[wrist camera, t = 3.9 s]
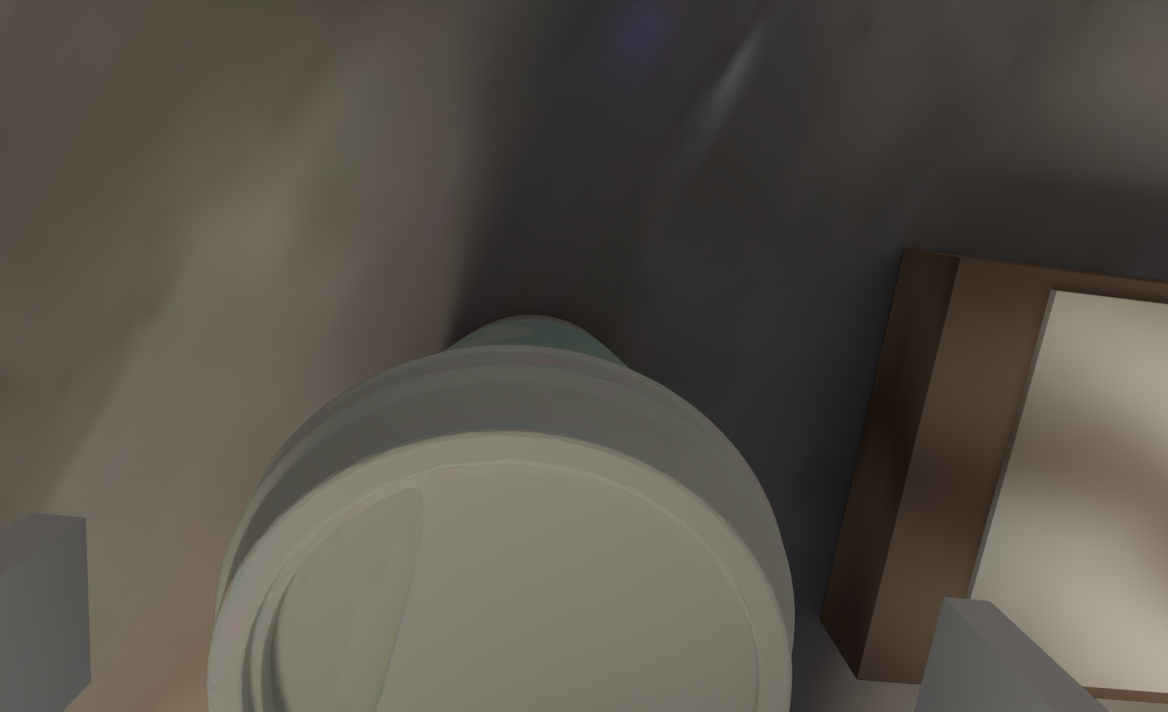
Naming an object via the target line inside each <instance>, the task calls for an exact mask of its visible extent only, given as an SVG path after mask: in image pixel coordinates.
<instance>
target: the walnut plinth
mask: <svg viewBox="0 0 1168 712" xmlns="http://www.w3.org/2000/svg"><path fill="white" fill-rule="evenodd" d="M944 597H951V598H962V599H973V600H984V601H991V602H992V603H993V604H994V605H995V606H996V607H997V608H998V609H999V610H1000V611H1001V612H1002V613H1003V614H1005V615H1006V616H1007V617H1008V618H1009V619H1010V620H1011V621H1012V622H1013V623H1014V624H1015V625H1016V626H1017V627H1019V628H1020V629H1021V630H1022V631H1023V632H1024V633H1025V634H1026V635H1027V636H1028V637H1029V638H1030V639H1031V640H1033V641H1034V642H1035V643H1036V644H1037V645H1038V646H1039V647H1040V648H1041V649H1042V650H1043V651H1044V652H1045V653H1047V654H1048V655H1049V656H1050V657H1051V658H1052V659H1053V660H1054V661H1055V662H1056V663H1057V664H1058V665H1059V666H1061V667H1062V668H1063V669H1064V670H1065V671H1066V672H1067V673H1068V674H1069V675H1070V676H1071V677H1072V678H1073V679H1075V680H1076V681H1077V682H1078V683H1079V684H1080V685H1081V686H1082V687H1083V688H1084V689H1085V690H1086V691H1087V692H1089V693H1090V694H1091V695H1092V696H1093V697H1094V698H1100V699H1113V700H1126V701H1139V702H1152V703H1165V704H1168V281H1163V280H1155V279H1147V278H1139V277H1131V276H1123V275H1115V274H1107V273H1099V272H1091V271H1083V270H1075V269H1067V268H1059V267H1051V266H1044V265H1036V264H1028V263H1020V262H1012V261H1004V260H996V259H988V258H980V257H972V256H964V255H956V254H948V253H940V252H932V251H924V250H916V249H908V248H904V253H903V257H902V262H901V266H900V270H899V275H898V279H897V284H896V288H895V292H894V297H893V301H892V306H891V310H890V314H889V319H888V323H887V328H886V332H885V337H884V341H883V345H882V350H881V354H880V359H879V363H878V367H877V372H876V376H875V381H874V385H873V389H872V394H871V398H870V403H869V407H868V411H867V416H866V420H865V425H864V429H863V433H862V438H861V442H860V447H859V451H858V456H857V460H856V464H855V469H854V473H853V478H852V482H851V486H850V491H849V495H848V500H847V504H846V508H845V513H844V517H843V522H842V526H841V530H840V535H839V539H838V544H837V548H836V552H835V557H834V561H833V566H832V570H831V575H830V579H829V583H828V588H827V592H826V597H825V601H824V605H823V610H822V614H821V619H820V621H821V623H822V624H823V626H824V627H825V629H826V631H827V632H828V634H829V635H830V637H831V639H832V640H833V642H834V643H835V645H836V647H837V648H838V650H839V652H840V653H841V655H842V656H843V658H844V660H845V661H846V663H847V664H848V666H849V668H850V669H851V671H852V672H853V674H854V676H855V677H856V679H857V680H869V681H882V682H895V683H908V684H922V680H923V676H924V672H925V668H926V665H927V661H928V657H929V653H930V649H931V645H932V642H933V638H934V634H935V630H936V626H937V622H938V618H939V615H940V611H941V607H942V603H943V599H944Z"/></svg>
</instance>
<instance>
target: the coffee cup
mask: <svg viewBox="0 0 1168 712" xmlns="http://www.w3.org/2000/svg"><path fill="white" fill-rule="evenodd" d="M794 629H795V605H794V593H793V586H792V578H791V573H790V568H789V564H788V560H787V556H786V552H785V549H784V546H783V542H782V538H781V534H780V531H779V527H778V524H777V521H776V518H775V515H774V513H773V510H772V508H771V505H770V503H769V501H768V498H767V496H766V494H765V492H764V490H763V488H762V486H761V485H760V483H759V481H758V479H757V477H756V476H755V474H754V473H753V471H752V469H751V468H750V466H749V465H748V463H747V462H746V460H745V459H744V458H743V456H742V455H741V454H740V452H739V451H738V450H737V449H736V447H735V446H734V445H733V444H732V442H731V441H730V440H729V439H728V438H727V437H726V436H725V435H724V434H723V433H722V431H721V430H720V429H719V428H718V427H717V426H716V425H714V424H713V423H712V422H711V421H710V420H709V419H708V418H707V417H706V416H705V415H704V414H702V413H701V412H700V411H699V410H697V409H696V408H695V407H694V406H692V405H691V404H690V403H688V402H687V401H686V400H684V399H683V398H682V397H680V396H679V395H677V394H676V393H674V392H672V391H671V390H669V389H668V388H666V387H664V386H663V385H661V384H659V383H657V382H656V381H654V380H652V379H650V378H648V377H646V376H644V375H642V374H640V373H638V372H635V371H633V370H631V369H629V368H628V367H627V366H626V365H625V364H624V363H623V362H622V361H621V360H620V359H619V358H618V357H616V356H615V355H614V354H613V353H612V352H611V351H610V350H609V349H608V348H607V347H606V346H604V345H603V344H602V343H601V342H600V341H599V340H598V339H596V338H595V337H594V336H593V335H591V334H590V333H588V332H587V331H585V330H584V329H582V328H580V327H578V326H576V325H574V324H572V323H570V322H567V321H565V320H562V319H558V318H554V317H550V316H543V315H518V316H511V317H506V318H503V319H499V320H496V321H493V322H491V323H489V324H486V325H484V326H482V327H481V328H479V329H477V330H475V331H474V332H472V333H470V334H469V335H467V336H465V337H464V338H462V339H461V340H459V341H458V342H456V343H455V344H453V345H452V346H450V347H448V348H447V349H445V350H444V351H442V352H440V353H436V354H432V355H428V356H424V357H421V358H417V359H414V360H411V361H408V362H405V363H402V364H400V365H397V366H394V367H392V368H390V369H387V370H385V371H383V372H380V373H378V374H376V375H374V376H372V377H370V378H368V379H366V380H364V381H362V382H360V383H359V384H357V385H355V386H353V387H352V388H350V389H348V390H347V391H345V392H344V393H342V394H341V395H339V396H338V397H336V398H335V399H333V400H332V401H330V402H329V403H328V404H326V405H325V406H324V407H323V408H321V409H320V410H319V411H318V412H316V413H315V414H314V415H313V416H312V417H310V418H309V419H308V420H307V421H306V422H305V423H304V424H303V425H302V426H301V427H300V428H299V429H298V430H297V431H296V432H295V433H294V434H293V435H292V436H291V437H290V438H289V439H288V440H287V441H286V443H285V444H284V445H283V446H282V447H281V448H280V450H279V451H278V452H277V454H276V455H275V456H274V457H273V459H272V460H271V462H270V463H269V464H268V466H267V467H266V469H265V470H264V472H263V473H262V475H261V477H260V478H259V480H258V482H257V484H256V485H255V487H254V489H253V491H252V493H251V495H250V497H249V499H248V501H247V504H246V506H245V508H244V510H243V512H242V514H241V515H240V517H239V519H238V522H237V524H236V526H235V529H234V531H233V534H232V536H231V538H230V541H229V544H228V547H227V550H226V553H225V556H224V559H223V563H222V566H221V571H220V576H219V580H218V586H217V593H216V603H215V623H214V627H213V631H212V637H211V643H210V649H209V655H208V667H207V693H208V705H209V712H789V710H790V703H791V689H792V659H791V655H792V649H793V643H794Z"/></svg>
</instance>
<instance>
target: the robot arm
mask: <svg viewBox="0 0 1168 712" xmlns="http://www.w3.org/2000/svg"><path fill="white" fill-rule="evenodd" d="M90 682H91V668H90V637H89V606H88V575H87V544H86V518H83V517H72V516H61V515H51V514H40V513H30V514H28V515H26V516H25V517H23V518H21V519H20V520H18V521H16V522H15V523H13V524H12V525H10V526H8V527H7V528H5V529H3V530H2V531H0V712H62V711H63V710H64V709H65V708H66V707H67V706H68V705H69V704H70V703H71V702H72V701H73V700H74V699H75V698H76V697H77V695H78V694H79V693H80V692H81V691H82V690H83V689H84V688H85V687H86V686H87V685H88V684H89V683H90ZM914 712H1109V711H1108V710H1107V709H1106V708H1105V707H1104V706H1103V705H1101V704H1100V703H1099V702H1098V701H1097V700H1096V699H1095V698H1094V697H1093V696H1092V695H1091V694H1090V693H1089V692H1087V691H1086V690H1085V689H1084V688H1083V687H1082V686H1081V685H1080V684H1079V683H1078V682H1077V681H1076V680H1075V679H1073V678H1072V677H1071V676H1070V675H1069V674H1068V673H1067V672H1066V671H1065V670H1064V669H1063V668H1062V667H1061V666H1059V665H1058V664H1057V663H1056V662H1055V661H1054V660H1053V659H1052V658H1051V657H1050V656H1049V655H1048V654H1047V653H1045V652H1044V651H1043V650H1042V649H1041V648H1040V647H1039V646H1038V645H1037V644H1036V643H1035V642H1034V641H1033V640H1031V639H1030V638H1029V637H1028V636H1027V635H1026V634H1025V633H1024V632H1023V631H1022V630H1021V629H1020V628H1019V627H1017V626H1016V625H1015V624H1014V623H1013V622H1012V621H1011V620H1010V619H1009V618H1008V617H1007V616H1006V615H1005V614H1003V613H1002V612H1001V611H1000V610H999V609H998V608H997V607H996V606H995V605H994V604H993V603H992V602H991V601H984V600H973V599H962V598H951V597H944V599H943V603H942V607H941V611H940V615H939V618H938V622H937V626H936V630H935V634H934V638H933V642H932V645H931V649H930V653H929V657H928V661H927V665H926V668H925V672H924V676H923V680H922V684H921V688H920V692H919V695H918V699H917V703H916V707H915V711H914Z"/></svg>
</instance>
